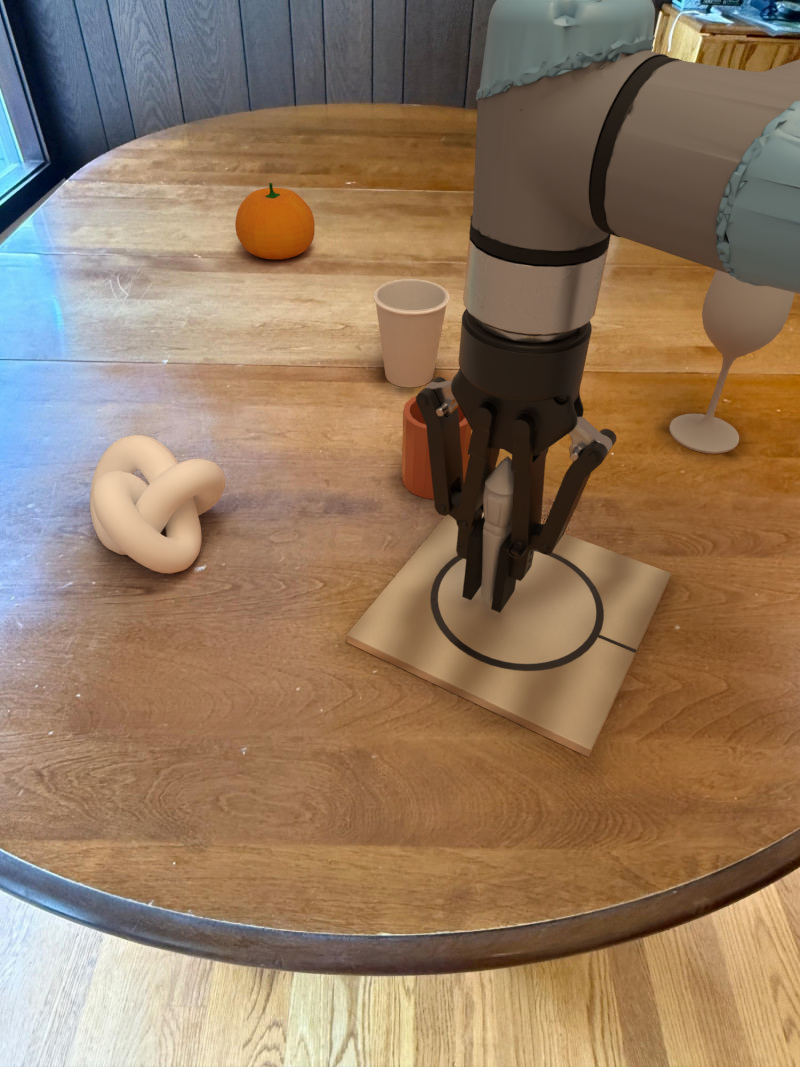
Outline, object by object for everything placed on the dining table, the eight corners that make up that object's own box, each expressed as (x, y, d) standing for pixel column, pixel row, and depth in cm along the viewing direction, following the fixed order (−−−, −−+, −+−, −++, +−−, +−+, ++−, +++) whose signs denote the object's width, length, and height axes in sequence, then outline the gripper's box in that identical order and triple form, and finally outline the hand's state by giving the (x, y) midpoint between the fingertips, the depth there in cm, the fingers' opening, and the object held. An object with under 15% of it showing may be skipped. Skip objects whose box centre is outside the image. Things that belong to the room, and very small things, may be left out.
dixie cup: (455, 366, 93) (460, 286, 86) (428, 400, 87) (432, 317, 80) (391, 351, 95) (392, 272, 89) (361, 383, 90) (360, 302, 83)
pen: (511, 599, 61) (534, 455, 52) (491, 618, 59) (512, 473, 50) (485, 584, 62) (503, 440, 53) (465, 602, 61) (480, 458, 51)
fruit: (322, 263, 114) (318, 193, 108) (242, 270, 112) (233, 199, 106) (310, 233, 123) (305, 167, 116) (235, 239, 121) (226, 172, 114)
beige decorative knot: (205, 483, 75) (190, 404, 69) (257, 555, 68) (245, 474, 62) (88, 523, 71) (61, 442, 65) (131, 605, 63) (104, 523, 57)
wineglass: (655, 435, 83) (710, 239, 69) (685, 406, 87) (744, 216, 73) (723, 463, 79) (796, 263, 65) (751, 431, 84) (826, 237, 69)
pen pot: (477, 472, 77) (484, 404, 72) (448, 507, 73) (453, 437, 68) (421, 452, 80) (424, 385, 74) (390, 485, 76) (390, 416, 70)
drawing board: (669, 581, 66) (672, 571, 66) (588, 758, 54) (591, 749, 53) (461, 503, 74) (462, 494, 73) (346, 642, 61) (346, 633, 60)
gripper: (673, 319, 44) (595, 599, 60) (444, 261, 50) (428, 533, 65) (632, 376, 39) (559, 665, 55) (383, 306, 45) (382, 587, 61)
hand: (488, 593), depth 60 cm, fingers closed on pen, 2 cm apart
